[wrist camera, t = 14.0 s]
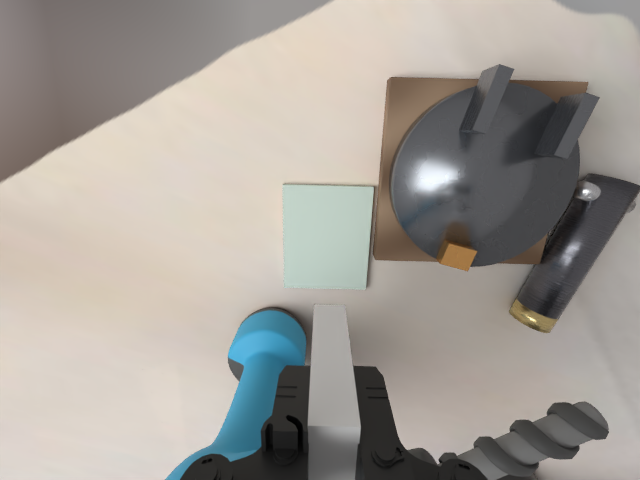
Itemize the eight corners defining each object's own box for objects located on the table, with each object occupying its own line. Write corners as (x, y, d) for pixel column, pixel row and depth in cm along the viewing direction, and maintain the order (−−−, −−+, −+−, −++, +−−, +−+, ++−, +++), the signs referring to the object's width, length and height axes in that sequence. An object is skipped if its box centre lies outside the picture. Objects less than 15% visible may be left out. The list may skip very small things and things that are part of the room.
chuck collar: (511, 274, 29) (541, 297, 25) (366, 234, 27) (373, 251, 23) (594, 117, 24) (647, 113, 20) (426, 62, 23) (447, 47, 19)
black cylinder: (534, 313, 33) (612, 184, 28) (567, 335, 29) (661, 194, 25) (492, 306, 31) (568, 167, 26) (522, 329, 27) (615, 175, 23)
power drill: (407, 205, 28) (704, 450, 6) (450, 276, 31) (782, 645, 8) (178, 348, 34) (-100, 758, 11) (230, 400, 36) (79, 828, 14)
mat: (365, 286, 31) (365, 289, 30) (284, 284, 31) (284, 287, 30) (372, 186, 28) (373, 187, 27) (283, 183, 28) (282, 184, 27)
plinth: (529, 258, 30) (539, 264, 28) (372, 254, 30) (375, 260, 28) (573, 85, 25) (588, 82, 24) (387, 80, 25) (391, 77, 24)
